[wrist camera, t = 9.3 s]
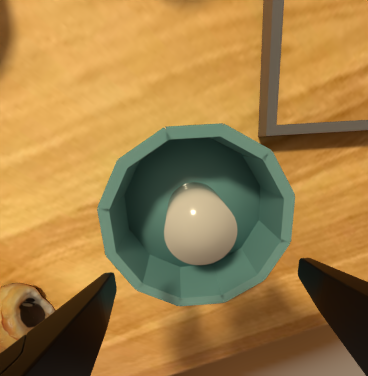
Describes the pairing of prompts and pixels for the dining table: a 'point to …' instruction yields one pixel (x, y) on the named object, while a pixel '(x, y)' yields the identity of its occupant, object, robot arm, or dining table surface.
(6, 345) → the pastry
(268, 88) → the gray square frame
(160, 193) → the bowl
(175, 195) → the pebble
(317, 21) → the dining table surface
